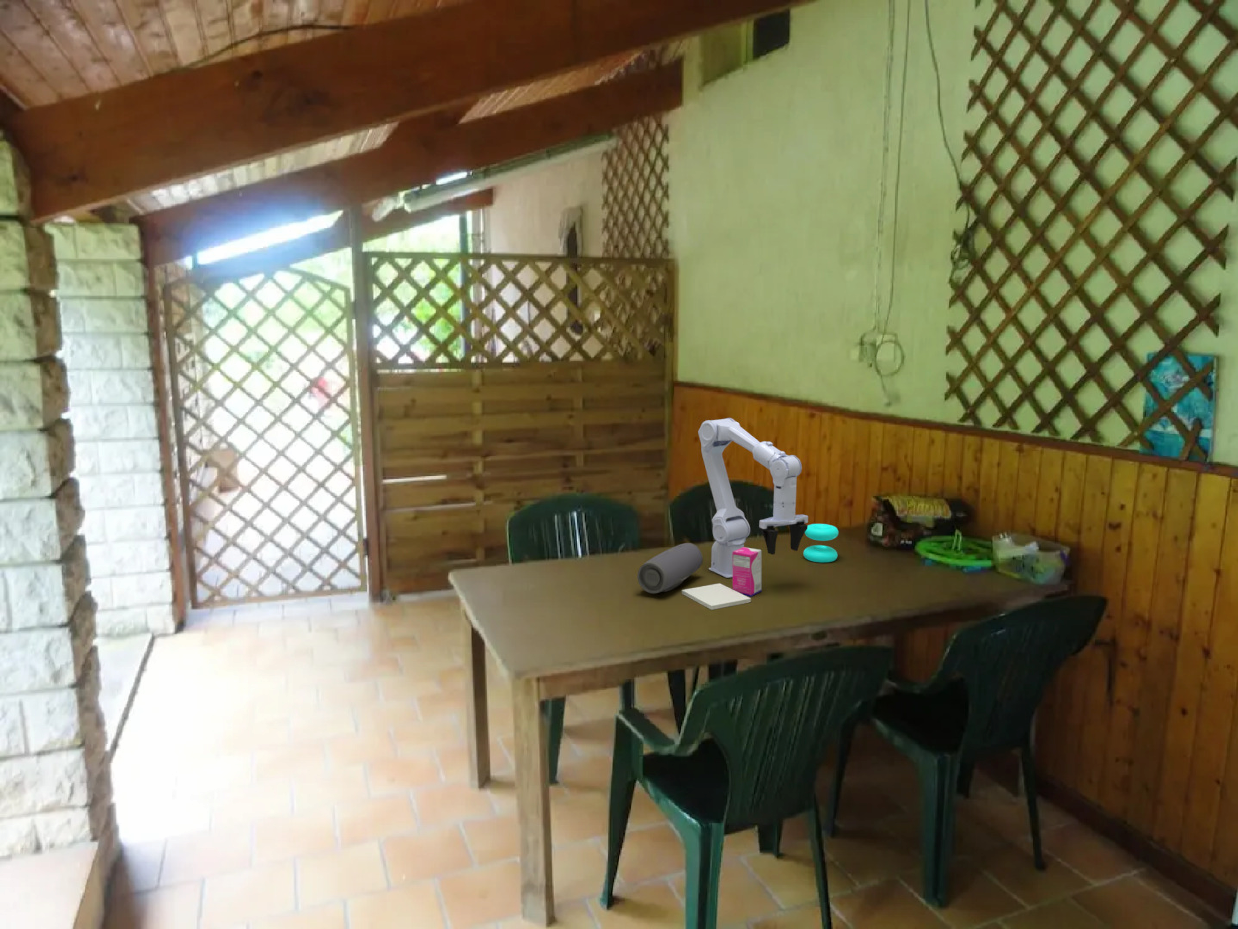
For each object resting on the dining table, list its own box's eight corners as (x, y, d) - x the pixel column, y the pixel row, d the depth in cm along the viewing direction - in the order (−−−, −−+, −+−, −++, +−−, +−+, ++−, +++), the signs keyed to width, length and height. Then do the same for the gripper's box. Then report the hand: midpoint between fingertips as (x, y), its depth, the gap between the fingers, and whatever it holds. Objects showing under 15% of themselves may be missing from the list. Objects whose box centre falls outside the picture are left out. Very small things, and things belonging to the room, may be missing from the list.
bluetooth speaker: (674, 572, 236) (674, 538, 234) (704, 577, 231) (704, 543, 229) (635, 595, 216) (635, 558, 215) (666, 601, 212) (666, 563, 210)
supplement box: (742, 587, 222) (743, 546, 220) (762, 591, 218) (763, 550, 217) (731, 592, 218) (732, 550, 216) (750, 597, 214) (751, 554, 212)
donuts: (845, 528, 244) (818, 532, 240) (844, 561, 246) (817, 565, 242) (824, 521, 253) (797, 524, 249) (822, 552, 255) (796, 556, 251)
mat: (681, 593, 217) (681, 590, 217) (719, 586, 223) (719, 583, 222) (711, 609, 205) (711, 606, 205) (750, 602, 210) (750, 598, 210)
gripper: (771, 507, 210) (769, 559, 212) (816, 502, 216) (814, 552, 219) (755, 502, 216) (753, 552, 219) (799, 496, 223) (797, 545, 225)
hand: (782, 551), depth 219 cm, fingers open, 7 cm apart
